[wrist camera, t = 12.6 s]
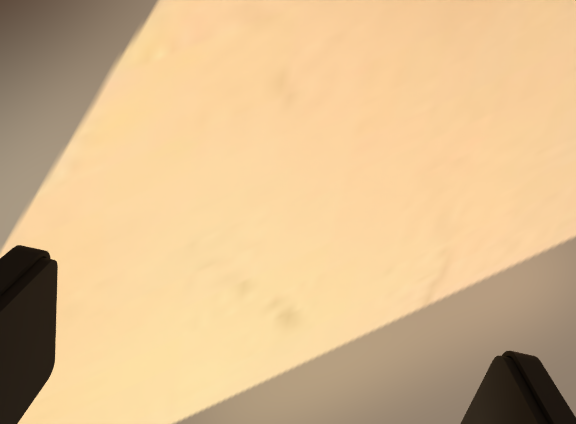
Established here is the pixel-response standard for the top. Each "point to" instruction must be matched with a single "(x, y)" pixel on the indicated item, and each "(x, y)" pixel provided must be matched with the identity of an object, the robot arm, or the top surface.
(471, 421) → the robot arm
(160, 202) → the top surface
